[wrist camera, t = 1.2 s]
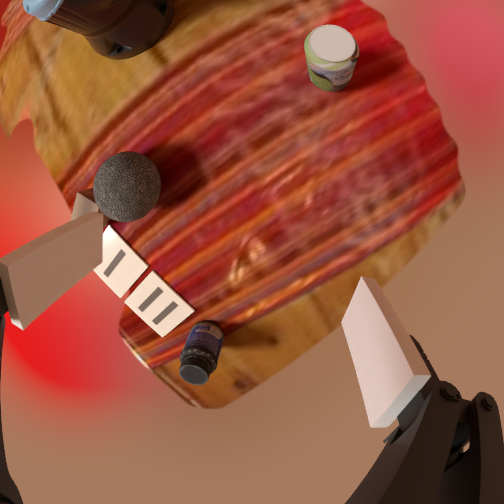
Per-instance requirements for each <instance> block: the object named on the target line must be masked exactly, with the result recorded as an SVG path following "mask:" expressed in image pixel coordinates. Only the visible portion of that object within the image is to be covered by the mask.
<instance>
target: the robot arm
mask: <svg viewBox="0 0 504 504" xmlns="http://www.w3.org/2000/svg"><path fill="white" fill-rule="evenodd" d="M23 7H24V9H25V11H26V12H27V13H28V14H31V15H33V16H35V17H37V18H39V19H40V20H41V21H46V22H49V23H52V24H55V25H58V26H61V27H63V28H66V29H69V30H71V31H74V32H76V33H79V34H81V35H84V36H85V38H86V39H87V40H88V42H89V43H90V45H91V46H92V47H93V49H94V50H95V51H96V52H97V53H99V54H100V55H102V56H105V57H107V58H110V59H116V60H119V59H126V58H130V57H133V56H135V55H137V54H139V53H141V52H143V51H145V50H146V49H148V48H149V47H150V46H152V45H153V44H154V43H155V42H156V41H157V40H158V39H159V38H160V37H161V36H162V35H163V34H164V33H165V31H166V30H167V28H168V27H169V25H170V23H171V20H172V18H173V14H174V4H173V1H172V0H23ZM102 262H103V214H102V213H97V212H93V211H92V212H89V213H87V214H85V215H83V216H81V217H78V218H76V219H74V220H72V221H70V222H68V223H66V224H64V225H62V226H60V227H58V228H56V229H54V230H52V231H50V232H48V233H46V234H44V235H42V236H40V237H38V238H36V239H34V240H33V241H31V242H29V243H27V244H25V245H23V246H21V247H20V248H18V249H16V250H14V251H12V252H11V253H9V254H7V255H6V256H4V257H2V258H0V377H1V358H2V347H3V337H4V330H5V317H4V314H5V313H6V312H7V311H9V314H10V318H11V321H12V323H13V324H15V325H16V326H18V327H19V328H21V329H22V330H24V329H25V328H26V327H27V326H28V325H29V324H30V323H31V322H32V321H33V320H35V319H36V318H37V317H38V316H39V315H40V314H41V313H42V312H43V311H45V310H46V309H47V308H48V307H49V306H50V305H51V304H53V303H54V302H55V301H56V300H57V299H58V298H59V297H61V296H62V295H63V294H64V293H65V292H66V291H68V290H69V289H70V288H71V287H73V286H74V285H75V284H76V283H77V282H78V281H80V280H81V279H82V278H83V277H85V276H86V275H87V274H88V273H90V272H91V271H92V270H93V269H95V268H96V267H97V266H99V265H100V264H101V263H102ZM341 323H342V326H343V329H344V332H345V336H346V339H347V342H348V345H349V348H350V352H351V356H352V359H353V362H354V366H355V369H356V373H357V377H358V380H359V384H360V388H361V391H362V395H363V399H364V403H365V407H366V411H367V415H368V419H369V423H370V427H388V426H389V425H390V424H391V423H392V422H393V421H394V420H395V419H396V418H398V421H399V426H398V427H397V428H396V429H395V430H394V431H393V432H392V433H391V434H390V435H389V436H388V437H387V438H386V439H385V440H384V441H383V442H384V443H385V442H386V441H388V442H387V444H386V446H385V447H384V449H383V451H382V452H381V454H380V455H379V457H378V459H377V460H376V462H375V463H374V465H373V466H372V468H371V469H370V471H369V472H368V474H367V475H366V477H365V478H364V479H363V481H362V482H361V483H360V485H359V486H358V488H357V489H356V490H355V491H354V493H353V494H352V495H351V497H350V498H349V499H348V500H347V502H346V503H345V504H504V443H503V435H502V427H501V421H500V415H499V410H498V406H497V403H496V402H495V400H494V398H493V397H491V395H490V394H487V393H485V392H479V393H478V394H477V395H476V396H475V397H474V398H473V399H472V401H469V400H465V399H462V397H461V395H460V392H459V391H458V390H457V388H456V387H454V386H453V385H452V384H451V383H448V382H446V381H440V380H439V378H438V377H437V374H436V373H435V371H434V369H433V367H432V365H431V364H430V362H429V360H427V356H426V355H425V353H423V349H422V347H421V346H420V344H419V343H418V342H417V341H416V339H414V337H412V336H411V335H409V334H408V332H407V330H406V329H405V327H404V325H403V324H402V322H401V320H400V319H399V317H398V315H397V314H396V312H395V310H394V309H393V307H392V305H391V304H390V302H389V301H388V299H387V298H386V296H385V294H384V293H383V291H382V290H381V288H380V287H379V285H378V283H377V282H376V280H375V279H371V278H367V277H363V276H361V278H360V281H359V283H358V286H357V288H356V290H355V293H354V295H353V297H352V300H351V302H350V304H349V306H348V309H347V311H346V313H345V315H344V318H343V320H342V322H341ZM0 379H1V378H0ZM469 442H470V446H469V449H468V450H467V451H466V452H463V447H464V446H465V445H466V444H467V443H469ZM0 504H23V502H22V498H21V496H20V493H19V491H18V488H17V486H16V485H15V483H14V481H13V480H12V478H11V476H10V474H9V472H8V468H7V463H6V457H5V450H4V443H3V434H2V423H1V404H0Z"/></svg>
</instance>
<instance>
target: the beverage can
mask: <svg viewBox="0 0 504 504" xmlns="http://www.w3.org/2000/svg"><path fill="white" fill-rule="evenodd" d="M304 49H305V55H306V61H307V67H308V74H309V77H310V79H311V81H312V82H313V83H314V85H315V86H317V87H318V88H320V89H322V90H325V91H330V92H334V91H339V90H342V89H344V88H345V87H346V86H347V85H348V84H349V82H350V80H351V77H352V74H353V71H354V68H355V65H356V62H357V59H358V56H359V47H358V44H357V42H356V40H355V39H354V37H353V36H352V35H351V34H350V33H349V32H348V31H347V30H345V29H343V28H341V27H339V26H335V25H323V26H320V27H317V28H316V29H314V30H313V31H311V32H310V33H309V34H308V36H307V37H306V39H305V43H304Z"/></svg>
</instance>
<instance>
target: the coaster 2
mask: <svg viewBox="0 0 504 504" xmlns="http://www.w3.org/2000/svg"><path fill="white" fill-rule="evenodd" d="M125 303H126V304H127V305H128V306H129V307H130V308H131V309H132V310H133V311H134V312H135V313H136V314H137V315H138V316H139V317H140V318H141V319H143V320H144V321H145V322H146V323H147V324H148V325H149V326H150V327H151V328H152V329H154V330H155V331H156V332H157V333H158V334H159V335H160V336H161V337H164V336H165V335H166V334H167V333H169V332H170V331H171V330H172V329H173V328H175V327H176V326H177V325H178V324H179V323H181V322H182V321H183V320H184V319H185V318H187V317H188V316H189V315H190V314H191V313H193V312H194V311H195V309H193V308H192V307H191V306H190V305H189V304H188V303H187V302H186V301H185V300H184V299H183V298H182V297H180V296H179V295H178V294H177V293H176V292H175V291H174V290H173V289H172V288H171V287H170V286H169V285H168V284H167V283H166V282H165V281H164V280H163V279H162V278H161V277H160V276H159V275H158V274H157V273H156V272H155V271H154V270H153V271H152V272H151V273H150V274H149V275H148V276H147V277H146V278H145V279H144V281H143V282H142V283H141V284H140V285H139V286H138V287H137V288H136V289H135V291H134V292H133V293H132V294H131V295H130V296H129V297H128V298H127V300H126V301H125Z"/></svg>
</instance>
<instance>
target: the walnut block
mask: <svg viewBox="0 0 504 504" xmlns="http://www.w3.org/2000/svg"><path fill="white" fill-rule="evenodd" d="M92 211H93V212H97V213H102V212H101V210H100V209H99V208H98V206H97V204H96V201H95V198H94V193H93V188H91V189H87V190H84V191H81V192H77V196H76V200H75V204H74V208H73V212H72V216H71V220H74V219H76V218H78V217H81V216H83V215H85V214H87V213H89V212H92ZM102 214H103V213H102ZM109 219H110V218H109V217H107V216H106V215H105V214H103V227H105V226H107V225H108V222H109Z"/></svg>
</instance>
